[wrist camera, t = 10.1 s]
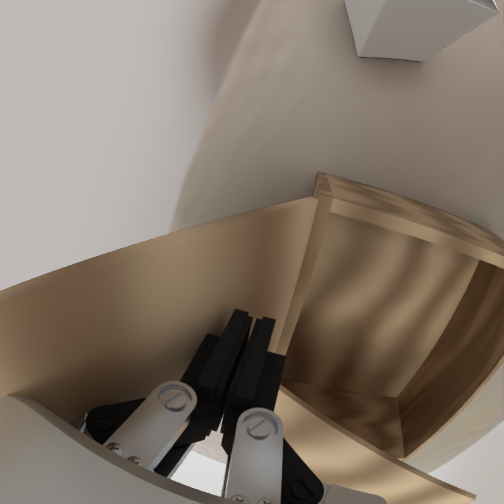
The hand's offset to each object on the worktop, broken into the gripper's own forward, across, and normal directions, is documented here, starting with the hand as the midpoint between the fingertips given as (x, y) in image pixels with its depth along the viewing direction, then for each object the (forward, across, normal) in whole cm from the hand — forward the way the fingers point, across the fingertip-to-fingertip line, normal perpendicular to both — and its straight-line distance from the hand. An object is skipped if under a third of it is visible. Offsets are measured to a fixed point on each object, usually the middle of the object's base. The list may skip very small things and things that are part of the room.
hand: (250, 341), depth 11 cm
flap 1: (-4, +3, +2) cm, 5 cm away
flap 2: (+1, -11, +16) cm, 19 cm away
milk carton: (+19, -5, -22) cm, 30 cm away
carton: (+19, -12, +9) cm, 24 cm away
